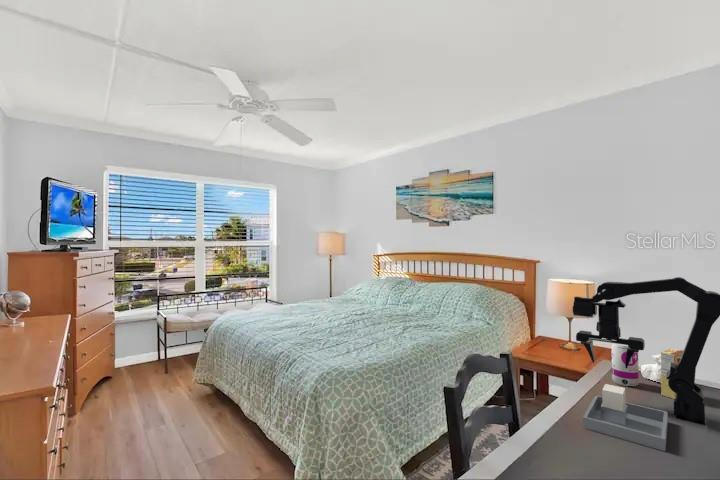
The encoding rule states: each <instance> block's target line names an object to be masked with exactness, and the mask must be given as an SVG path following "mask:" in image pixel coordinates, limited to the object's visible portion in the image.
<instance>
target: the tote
mask: <svg viewBox="0 0 720 480" xmlns="http://www.w3.org/2000/svg"><path fill="white" fill-rule="evenodd" d="M602 402H603V400H602V395H594V397H593V399H592V400H591V402H590V404H589V406H588V408H587V409H586V411H585V413H583V416H582V428H583V429H586V430H590V431H593V432H597V433H600V434H603V435H607V436H610V437H614V438H618V439H621V440H624V441H627V442H628V441H629V442H631V443H635V444H638V445H641V446H644V447H648V448H652V449H656V450H658V451H662V452H666V450H667V439H668V438H667V436H668V426H669V425H668V423H669V419H668V418H669V417H668V411H666V410H662V409H657V408H652V407H648V406H644V405H640V404H639V405H638V404H636V403H631V402H627V401H626V405H628V420H627V423H626V426H623V425H620V424H616V423H612V422H608V421H605V420H601V404H602Z"/></svg>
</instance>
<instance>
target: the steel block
mask: <svg viewBox="0 0 720 480" xmlns="http://www.w3.org/2000/svg"><path fill="white" fill-rule="evenodd" d="M601 420H605V421H608V422H612V423H616V424H620V425H623V426H626V423H627V420H628V405H625V408H624V411H619V410H615V409H611V408H607V407H603V402H602V404H601Z"/></svg>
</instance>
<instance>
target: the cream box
mask: <svg viewBox="0 0 720 480" xmlns="http://www.w3.org/2000/svg"><path fill="white" fill-rule="evenodd" d="M601 391H602V392H601V393H602V395H601V397H602V400H603V407H607V408H611V409H615V410H619V411H624V408H625V405H626V402H627V401H626V388H625V387H624V386H623V387H622V386H617V385H612V384H607V383H604V385H603V388H602V389H601Z"/></svg>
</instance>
